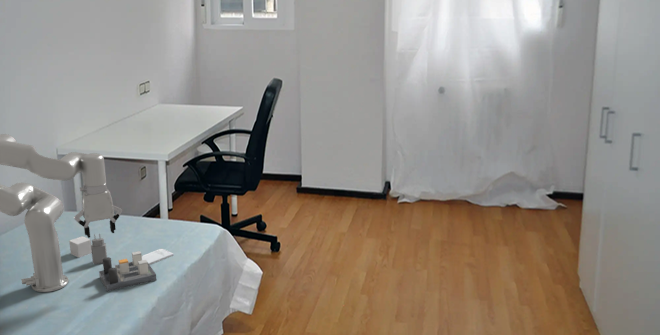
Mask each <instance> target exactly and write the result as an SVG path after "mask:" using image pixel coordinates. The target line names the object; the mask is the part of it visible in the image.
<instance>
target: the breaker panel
mask: <svg viewBox="0 0 660 335" xmlns="http://www.w3.org/2000/svg"><path fill="white" fill-rule="evenodd" d="M128 263H129V272H126V273H122V274H120V270H119V263H118V264H115V265H114V268H117V274H118V282H117V283H115V284H111V283H110V281H109V273H104V269H103V270H100V271H98V274H99V279H100V281H101V282H102V285H103V287H104V288H105V290H106V292H111V291H116V290H120V289H125V288H128V287H133V286H137V285H142V284H147V283H150V282H154V281H157V274H156V272H155V271H154V269H153V268H152V266H151V265H149V264H148V272H149V273H146V274H142V275H139V269H138V265H134V266H133V261H128Z"/></svg>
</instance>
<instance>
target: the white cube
mask: <svg viewBox="0 0 660 335" xmlns="http://www.w3.org/2000/svg"><path fill="white" fill-rule="evenodd" d="M68 242H69V250H70V254H71V255H73V256H75V257H76V258H82V257H85V256H89V255H92V251H91V245H92V239H90V238H88V237H87V236H86V237H85V236H83V235H82V236H78V237H77V238H76V237H75V238H72V239H70V240H69V241H68Z"/></svg>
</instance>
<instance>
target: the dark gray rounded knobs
mask: <svg viewBox="0 0 660 335" xmlns="http://www.w3.org/2000/svg"><path fill="white" fill-rule="evenodd" d="M102 265H103V266H102V268H103V270H104V273H109V281H110V283H111V284H115V283H117V282H118V274H117V268H115V267H113V266H112V265H113V264H112V258H111V257H108V256H107V257H106V258H103V263H102Z"/></svg>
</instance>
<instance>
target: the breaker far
mask: <svg viewBox="0 0 660 335" xmlns="http://www.w3.org/2000/svg"><path fill="white" fill-rule="evenodd" d="M142 256H143V255H142V252H141V251H140V250H139V251H132V252H131V257H132V262H133V266H134V265H138V261H142Z"/></svg>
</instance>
